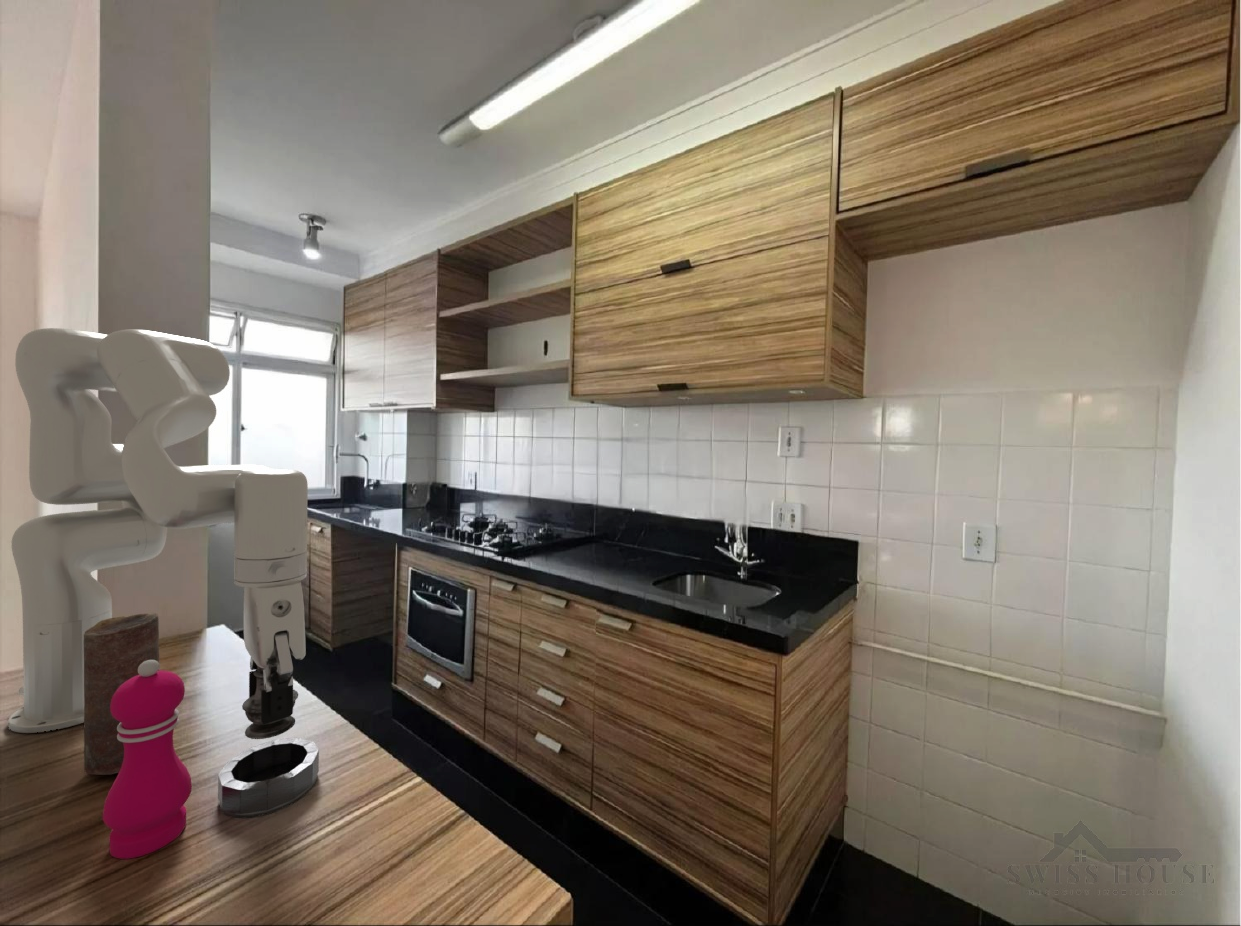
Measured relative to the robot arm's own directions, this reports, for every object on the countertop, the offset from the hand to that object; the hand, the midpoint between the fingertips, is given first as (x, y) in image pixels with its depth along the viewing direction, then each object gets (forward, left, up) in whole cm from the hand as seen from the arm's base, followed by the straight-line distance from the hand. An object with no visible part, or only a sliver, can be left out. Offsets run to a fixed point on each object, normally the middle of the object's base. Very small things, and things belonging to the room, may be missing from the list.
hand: (270, 707), depth 64 cm
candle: (-22, -2, -11) cm, 25 cm away
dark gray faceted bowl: (0, 0, -11) cm, 11 cm away
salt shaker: (0, 0, -3) cm, 3 cm away
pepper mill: (-5, -10, -11) cm, 16 cm away
